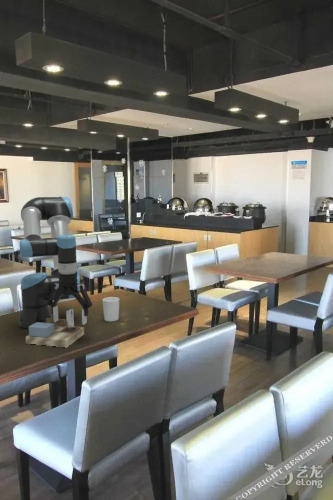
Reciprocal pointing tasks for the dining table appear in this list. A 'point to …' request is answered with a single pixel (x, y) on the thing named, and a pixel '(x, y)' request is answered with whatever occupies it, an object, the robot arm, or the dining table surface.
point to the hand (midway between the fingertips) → (70, 322)
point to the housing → (41, 329)
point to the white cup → (111, 308)
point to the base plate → (57, 335)
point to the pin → (70, 319)
